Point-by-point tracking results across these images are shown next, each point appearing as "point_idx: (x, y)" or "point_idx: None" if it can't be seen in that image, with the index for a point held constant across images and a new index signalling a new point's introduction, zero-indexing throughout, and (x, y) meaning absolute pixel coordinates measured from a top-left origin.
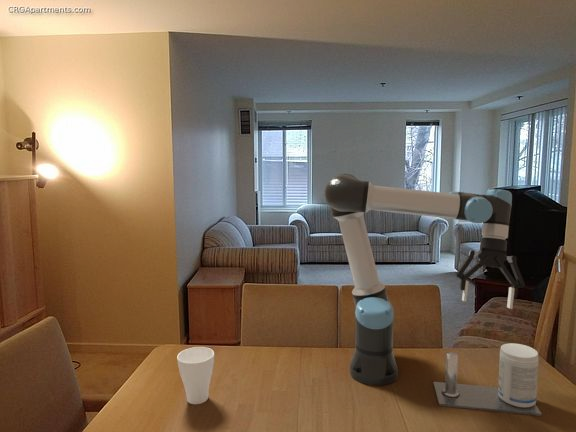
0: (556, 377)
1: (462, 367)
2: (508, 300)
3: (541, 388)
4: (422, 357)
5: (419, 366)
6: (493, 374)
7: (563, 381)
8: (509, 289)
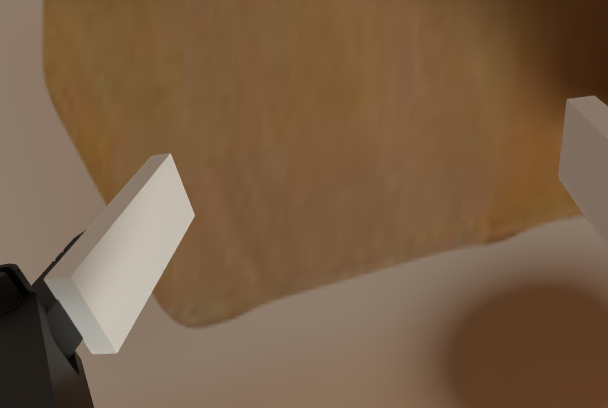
0: (86, 130)
1: (415, 97)
2: (165, 236)
3: (139, 17)
4: None
5: (597, 44)
6: (301, 76)
7: (65, 106)
8: (120, 315)
